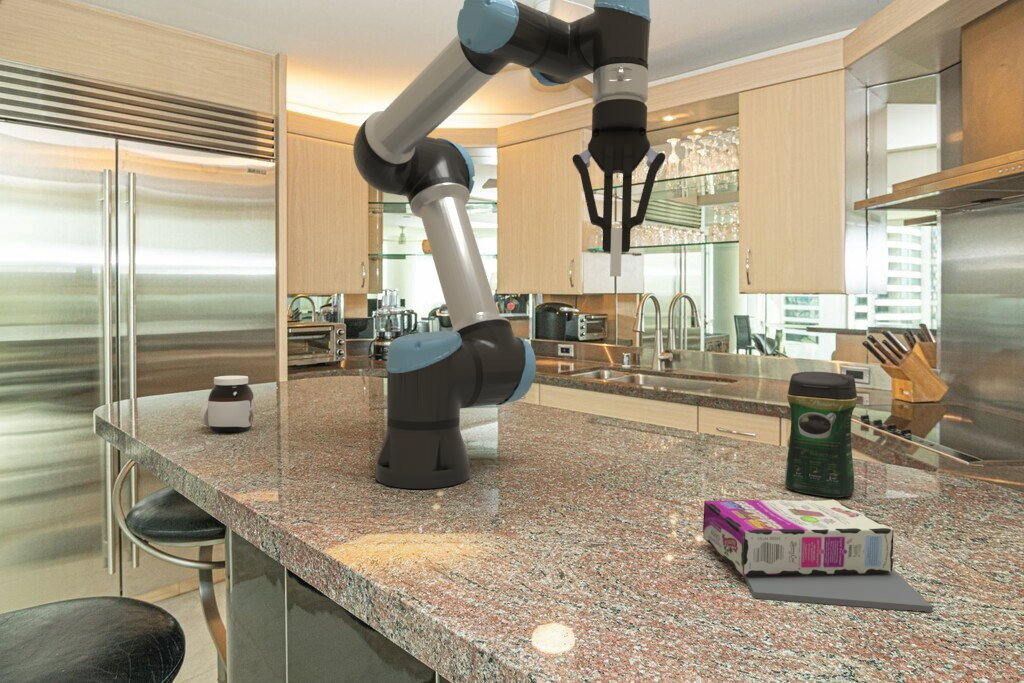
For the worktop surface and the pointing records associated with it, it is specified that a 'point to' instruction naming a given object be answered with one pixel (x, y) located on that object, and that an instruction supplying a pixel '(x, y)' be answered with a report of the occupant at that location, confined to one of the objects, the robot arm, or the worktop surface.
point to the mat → (840, 590)
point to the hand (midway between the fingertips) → (615, 275)
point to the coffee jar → (821, 434)
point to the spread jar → (229, 406)
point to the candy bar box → (797, 537)
